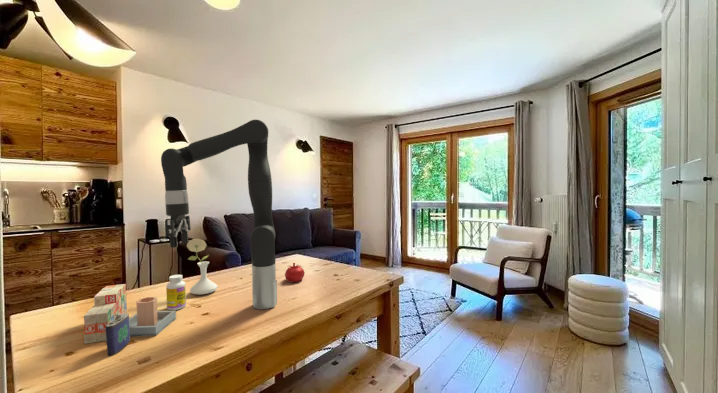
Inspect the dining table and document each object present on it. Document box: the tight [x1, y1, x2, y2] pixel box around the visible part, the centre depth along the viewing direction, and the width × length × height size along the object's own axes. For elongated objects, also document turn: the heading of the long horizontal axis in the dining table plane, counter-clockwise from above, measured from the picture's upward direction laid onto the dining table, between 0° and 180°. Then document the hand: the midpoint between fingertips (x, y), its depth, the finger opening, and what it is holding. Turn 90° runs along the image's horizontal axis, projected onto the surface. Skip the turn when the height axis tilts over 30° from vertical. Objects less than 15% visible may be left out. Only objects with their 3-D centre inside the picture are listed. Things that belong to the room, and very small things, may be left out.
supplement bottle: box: [166, 274, 187, 311], centre depth 127 cm, size 7×7×13 cm
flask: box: [106, 313, 131, 357], centre depth 96 cm, size 9×3×11 cm, turn 8°
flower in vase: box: [186, 238, 218, 295], centre depth 144 cm, size 13×11×25 cm
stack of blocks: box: [83, 283, 128, 344], centre depth 109 cm, size 21×6×12 cm, turn 23°
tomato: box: [284, 262, 306, 283], centre depth 162 cm, size 10×10×9 cm
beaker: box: [135, 296, 158, 326], centre depth 110 cm, size 6×6×9 cm
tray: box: [129, 310, 177, 338], centre depth 110 cm, size 13×13×3 cm
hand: (179, 244), depth 119 cm, fingers open, 8 cm apart
